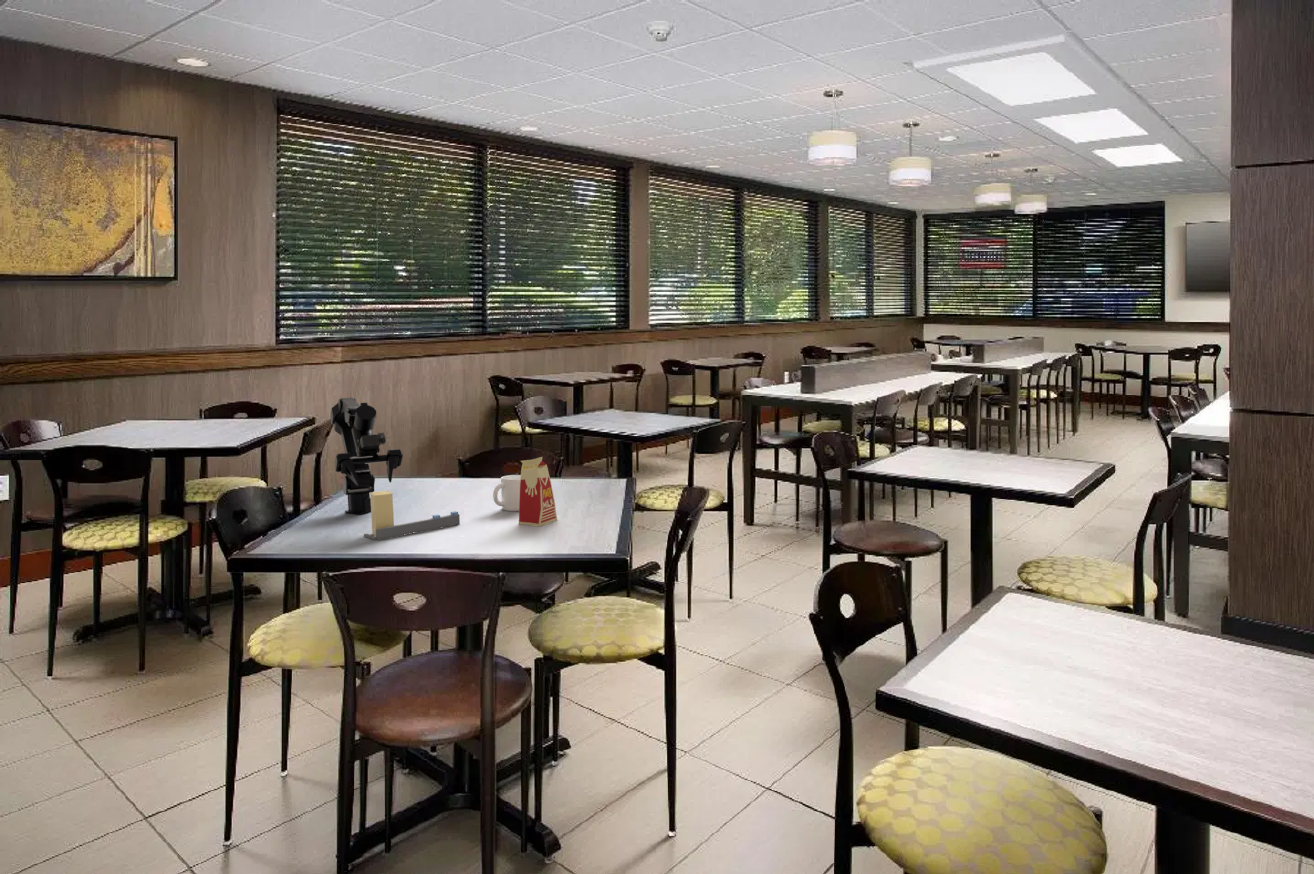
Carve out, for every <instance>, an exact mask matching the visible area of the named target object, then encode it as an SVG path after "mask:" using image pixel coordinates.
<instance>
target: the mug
mask: <svg viewBox="0 0 1314 874" xmlns="http://www.w3.org/2000/svg"><path fill="white" fill-rule="evenodd" d="M520 479H521V474H510V475H504V476H501V477H500V483H498V484H497V485H496V486H495V487H494V490H493V494H492V497H493V502H494V503H495V504H496V505H497V506H498V507H501V508H502V510H503V511H506V512H519V493H520ZM499 491H501V493H500V494H501V501H500V500H499V499H498V494H499V493H498V492H499Z"/></svg>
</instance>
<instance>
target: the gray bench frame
mask: <svg viewBox="0 0 1314 874" xmlns="http://www.w3.org/2000/svg"><path fill="white" fill-rule="evenodd" d="M460 519H461V518H460V514H459V511H456V510H454V511H450V514H448V515H442V516H441V515H440V514H433V515H432V518H427V519H423V520H422V519H421V520H418V521H417V520H416V521H412V522H406V523H401V524H394V526H389V527H384V528H379V529H376V537H375V536H374V535H373V534H368V533H364V534H363V537H364V538H367V537H368V539H370V538H371V540H373V541H382V539H383V540H386V538H388V539H391V537H393V538H397V537H396V536H398V537H401V535H403V536H405V535H404V534H408V535H410V534H409V533H413V532H418V533H424V532H427V530H428V531H432V530H431V529H433V530H437V529H436V528H438V529H441V527H443V528H447V527H446V526H448V527H451V526H450V525H453V526H456V525H455V524H459V525H460V523H461V520H460ZM413 534H414V533H413Z"/></svg>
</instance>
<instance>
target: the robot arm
mask: <svg viewBox="0 0 1314 874" xmlns="http://www.w3.org/2000/svg"><path fill="white" fill-rule="evenodd" d="M337 400H338V401H337V403H336V404H335V405H333V406H332V407H331V410H330V424H331V425H332V426H333V429H334V430H333V431H334V432H336V433H337V434H338V435H340V436H341V443H342V447H343V449H344V452H343V453H342V452H341V453H336V454H335V461H334V469H335V472H337V473H340V474H344V477H343V483H342V491H343V494H344V495H345V496H347V508H348V509H347V510H344V513H345V514H353V515H363V514H365V513H369V512H371V498H370V492H375V483H376V482H375V481H376V478H375V476H374V474H373V473H372V472H371V469H370V465H369V464H377V463H385V464H386V474H387V478H388V481H389V483H392V480H393V474H394V473H393V471H394V470H396V469H397V468H399V467H401V465H402V461H403V457H404V454H403V453H404V452H403V451H402V450H401V449H400V448H393V449H392V448H391V449H387V452H386V454H379V453H380V446H382V445H385V444H386V441H387V439H386V435H385V433H384V432H378V433H377V434H374V433H373V429H374V427H375V423H376V418H377V410H376V409H375V408H374V407H373V406H371V405H370V404H368V402H360V403H358V402H357V401H356V398H355V397H342V398H339V399H337Z"/></svg>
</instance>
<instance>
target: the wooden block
mask: <svg viewBox="0 0 1314 874" xmlns="http://www.w3.org/2000/svg"><path fill="white" fill-rule="evenodd" d="M370 498H371V511H370V512H371V516H370V517H371V533H373V534H374V535H375V536H376V529H379V528H384V527H389V526H395V523H394V522H395V521H394V503H393V502H394V501H393V500H394V497H393V493H392V492H391V491H389V490H381V491H374V492H370ZM373 534H372V535H373ZM374 535H373V536H374ZM375 536H374V537H375Z"/></svg>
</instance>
